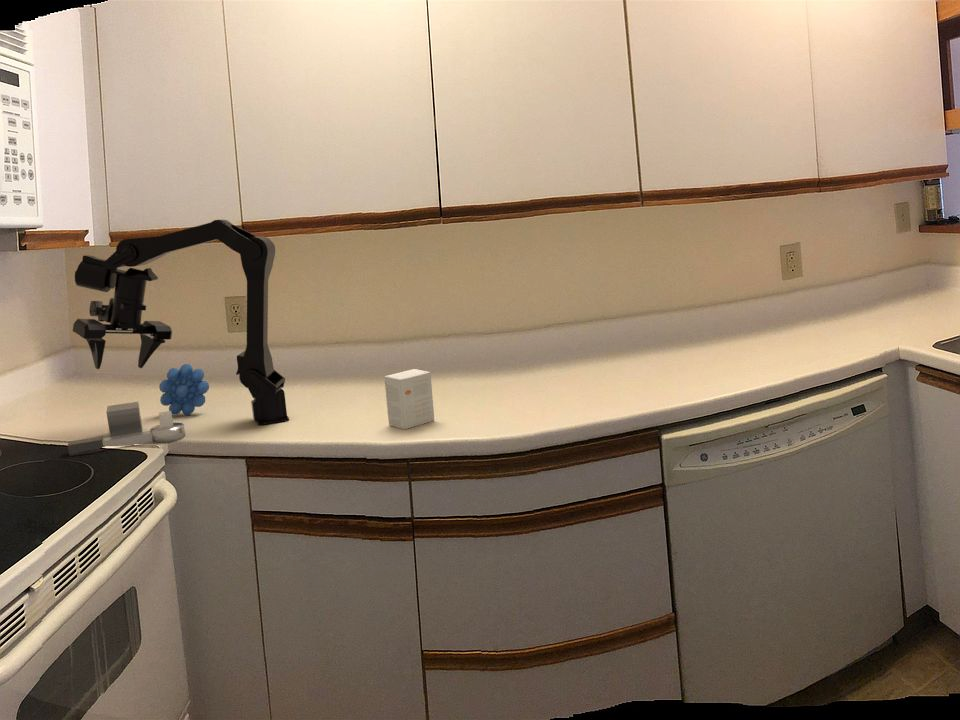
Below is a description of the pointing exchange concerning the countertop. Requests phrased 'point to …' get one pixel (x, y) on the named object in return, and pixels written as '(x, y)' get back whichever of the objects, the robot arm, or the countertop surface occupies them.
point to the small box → (409, 398)
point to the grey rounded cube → (124, 419)
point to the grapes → (183, 389)
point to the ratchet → (135, 436)
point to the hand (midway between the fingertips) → (119, 368)
